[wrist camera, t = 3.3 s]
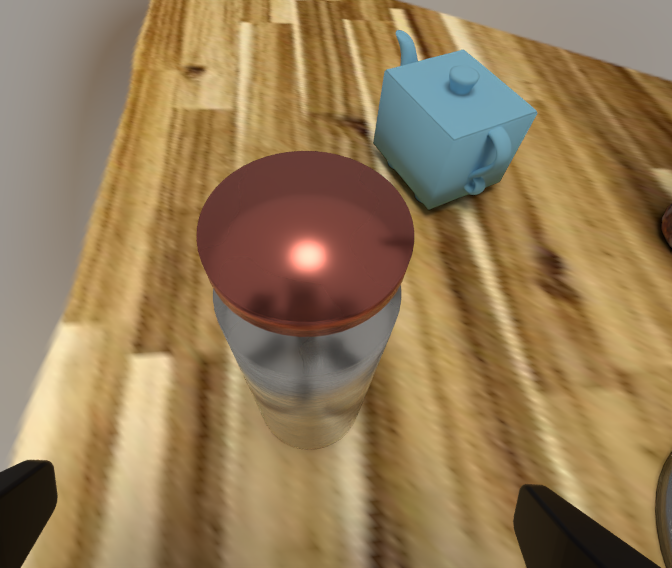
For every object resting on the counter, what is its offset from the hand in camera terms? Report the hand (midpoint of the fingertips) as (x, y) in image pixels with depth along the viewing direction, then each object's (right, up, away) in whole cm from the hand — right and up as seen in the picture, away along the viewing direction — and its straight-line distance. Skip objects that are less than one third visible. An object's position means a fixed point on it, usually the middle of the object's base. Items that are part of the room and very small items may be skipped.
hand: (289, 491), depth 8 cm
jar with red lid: (0, -2, +12) cm, 13 cm away
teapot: (+8, +13, +22) cm, 27 cm away
